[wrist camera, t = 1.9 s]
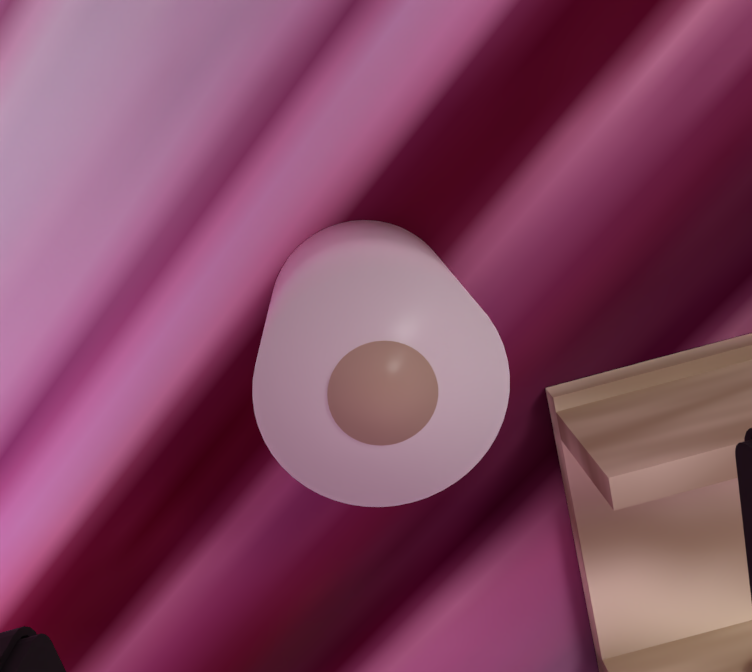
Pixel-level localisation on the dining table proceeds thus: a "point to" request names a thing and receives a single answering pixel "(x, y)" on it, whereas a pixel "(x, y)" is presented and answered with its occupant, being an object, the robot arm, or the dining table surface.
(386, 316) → the white rounded cylinder
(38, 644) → the robot arm
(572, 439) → the holder
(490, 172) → the dining table surface
